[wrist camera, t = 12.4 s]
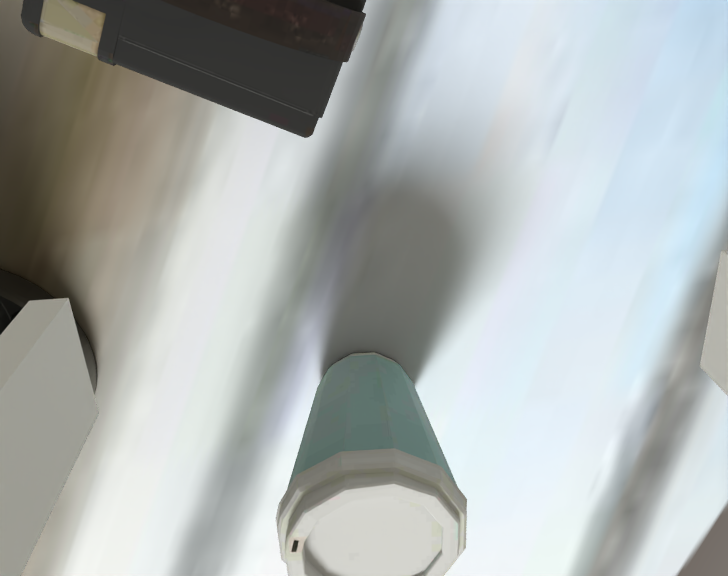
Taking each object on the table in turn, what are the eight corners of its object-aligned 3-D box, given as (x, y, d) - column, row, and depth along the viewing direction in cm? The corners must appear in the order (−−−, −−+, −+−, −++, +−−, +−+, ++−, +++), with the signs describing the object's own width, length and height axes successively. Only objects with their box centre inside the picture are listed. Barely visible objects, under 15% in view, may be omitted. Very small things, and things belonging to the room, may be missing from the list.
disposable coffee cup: (455, 340, 48) (503, 491, 34) (417, 461, 52) (446, 637, 39) (304, 314, 46) (291, 461, 33) (278, 440, 51) (258, 615, 37)
